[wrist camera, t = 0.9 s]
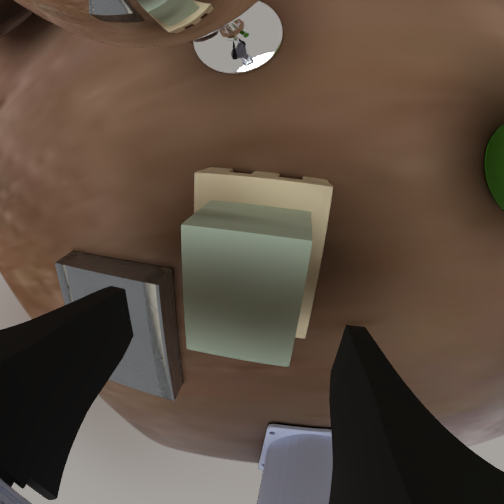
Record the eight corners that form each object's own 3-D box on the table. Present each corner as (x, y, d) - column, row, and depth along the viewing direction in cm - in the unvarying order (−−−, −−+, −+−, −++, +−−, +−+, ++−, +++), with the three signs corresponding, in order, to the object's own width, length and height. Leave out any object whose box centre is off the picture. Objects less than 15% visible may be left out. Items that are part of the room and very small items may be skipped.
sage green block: (305, 317, 17) (302, 387, 12) (206, 301, 18) (172, 363, 13) (329, 179, 14) (343, 208, 9) (208, 166, 15) (159, 188, 10)
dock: (183, 382, 21) (174, 400, 19) (99, 356, 22) (87, 371, 20) (172, 268, 17) (158, 285, 15) (72, 250, 18) (54, 262, 16)
